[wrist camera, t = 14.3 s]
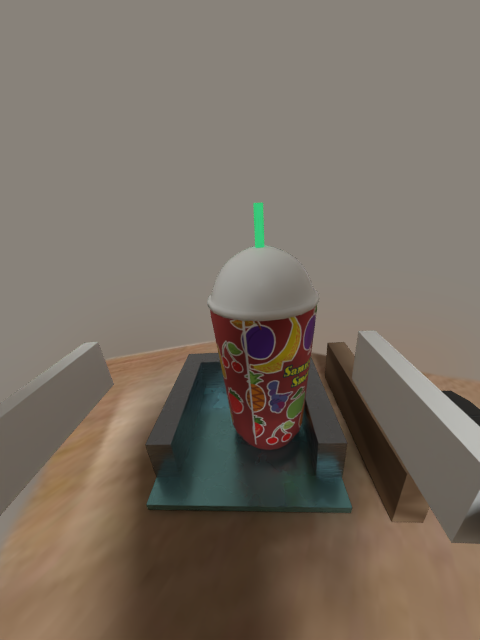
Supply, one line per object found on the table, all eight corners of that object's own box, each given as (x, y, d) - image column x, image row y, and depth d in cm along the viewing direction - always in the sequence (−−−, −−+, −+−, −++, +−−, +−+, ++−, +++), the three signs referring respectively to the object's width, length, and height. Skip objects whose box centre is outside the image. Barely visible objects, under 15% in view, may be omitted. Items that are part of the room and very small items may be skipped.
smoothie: (313, 473, 18) (335, 189, 10) (214, 457, 20) (170, 206, 12) (307, 399, 26) (318, 200, 18) (236, 392, 28) (217, 210, 20)
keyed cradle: (306, 378, 30) (307, 349, 28) (351, 512, 16) (359, 471, 14) (194, 382, 31) (189, 354, 29) (148, 509, 17) (132, 470, 16)
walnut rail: (340, 375, 30) (344, 342, 28) (423, 522, 15) (442, 474, 13) (324, 375, 30) (327, 342, 28) (391, 521, 16) (407, 474, 14)
